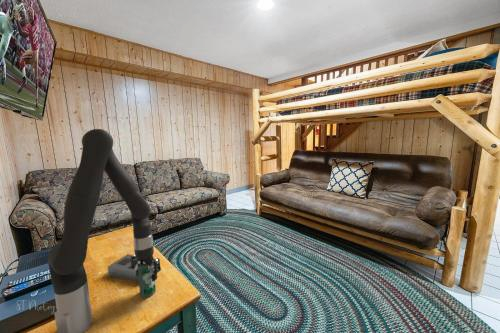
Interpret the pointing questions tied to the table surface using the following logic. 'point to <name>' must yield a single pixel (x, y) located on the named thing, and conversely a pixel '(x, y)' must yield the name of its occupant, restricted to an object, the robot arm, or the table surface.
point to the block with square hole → (123, 269)
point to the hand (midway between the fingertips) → (146, 278)
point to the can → (145, 281)
